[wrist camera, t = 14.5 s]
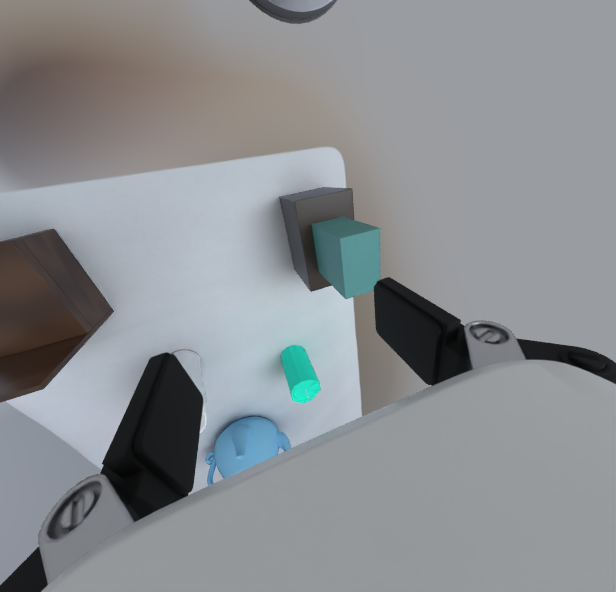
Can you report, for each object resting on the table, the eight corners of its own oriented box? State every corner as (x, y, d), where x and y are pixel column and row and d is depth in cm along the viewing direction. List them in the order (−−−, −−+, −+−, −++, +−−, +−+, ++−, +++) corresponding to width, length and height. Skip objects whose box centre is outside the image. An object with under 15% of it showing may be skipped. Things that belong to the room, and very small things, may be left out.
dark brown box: (279, 196, 36) (294, 201, 28) (324, 187, 38) (352, 188, 29) (294, 270, 42) (310, 291, 34) (333, 259, 44) (357, 277, 35)
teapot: (294, 415, 61) (307, 463, 51) (258, 458, 65) (264, 511, 55) (236, 403, 53) (238, 457, 42) (199, 454, 57) (192, 515, 46)
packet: (311, 224, 29) (339, 238, 22) (342, 216, 30) (380, 228, 23) (318, 272, 33) (345, 299, 25) (346, 264, 34) (380, 288, 26)
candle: (286, 369, 53) (299, 414, 43) (276, 352, 50) (288, 396, 40) (309, 358, 54) (327, 399, 43) (300, 341, 50) (318, 381, 40)
